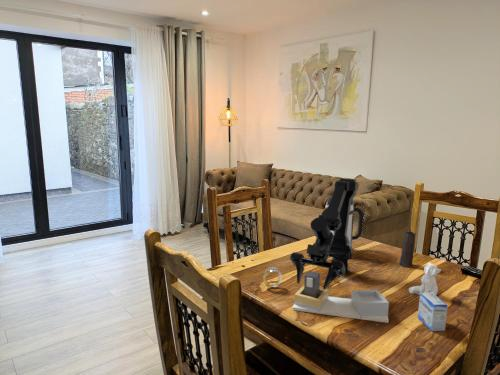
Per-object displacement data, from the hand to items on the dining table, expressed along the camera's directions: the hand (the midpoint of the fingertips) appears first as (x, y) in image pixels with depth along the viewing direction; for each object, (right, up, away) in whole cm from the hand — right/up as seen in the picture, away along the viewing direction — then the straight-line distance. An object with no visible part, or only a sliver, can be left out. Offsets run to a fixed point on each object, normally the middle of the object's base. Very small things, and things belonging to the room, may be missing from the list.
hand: (310, 286), depth 123 cm
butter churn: (+49, -1, +36) cm, 61 cm away
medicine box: (+36, -9, -10) cm, 38 cm away
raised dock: (+19, -8, -2) cm, 20 cm away
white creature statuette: (+44, -6, +10) cm, 45 cm away
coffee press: (+24, +2, +56) cm, 61 cm away
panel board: (+10, -7, 0) cm, 12 cm away
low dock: (+1, -7, +2) cm, 7 cm away
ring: (-12, -5, +15) cm, 20 cm away
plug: (+1, -5, +2) cm, 5 cm away
